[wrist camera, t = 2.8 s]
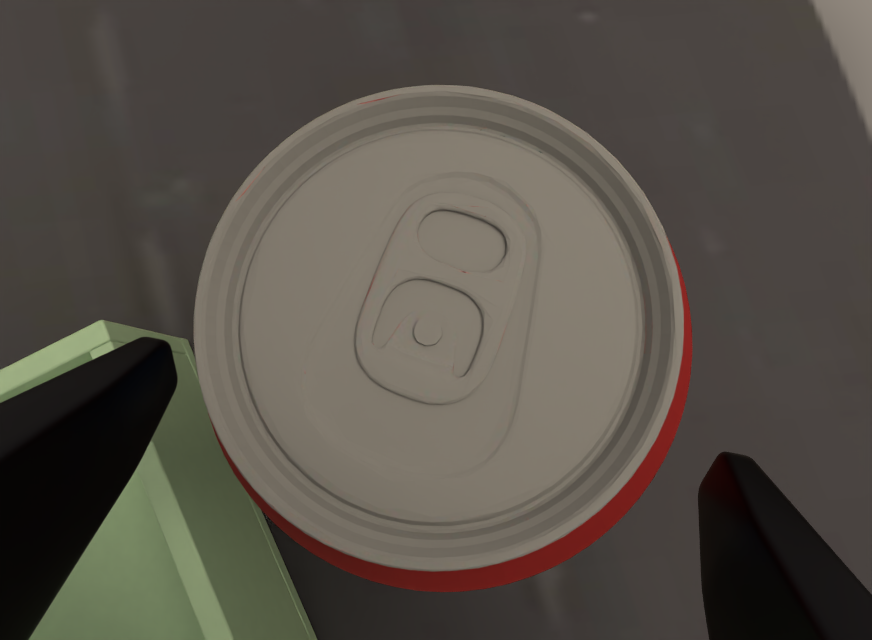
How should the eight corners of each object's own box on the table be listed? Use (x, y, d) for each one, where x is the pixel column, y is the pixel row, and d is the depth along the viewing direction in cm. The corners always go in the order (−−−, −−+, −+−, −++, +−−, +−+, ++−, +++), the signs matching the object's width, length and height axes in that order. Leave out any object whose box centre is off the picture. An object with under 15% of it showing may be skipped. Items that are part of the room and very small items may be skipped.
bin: (342, 697, 17) (298, 800, 13) (-24, 886, 17) (-200, 1058, 12) (187, 338, 19) (100, 318, 14) (-146, 506, 19) (-337, 537, 14)
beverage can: (315, 439, 18) (27, 502, 6) (393, 238, 19) (266, -43, 7) (524, 519, 17) (642, 761, 6) (595, 308, 18) (831, 127, 6)
